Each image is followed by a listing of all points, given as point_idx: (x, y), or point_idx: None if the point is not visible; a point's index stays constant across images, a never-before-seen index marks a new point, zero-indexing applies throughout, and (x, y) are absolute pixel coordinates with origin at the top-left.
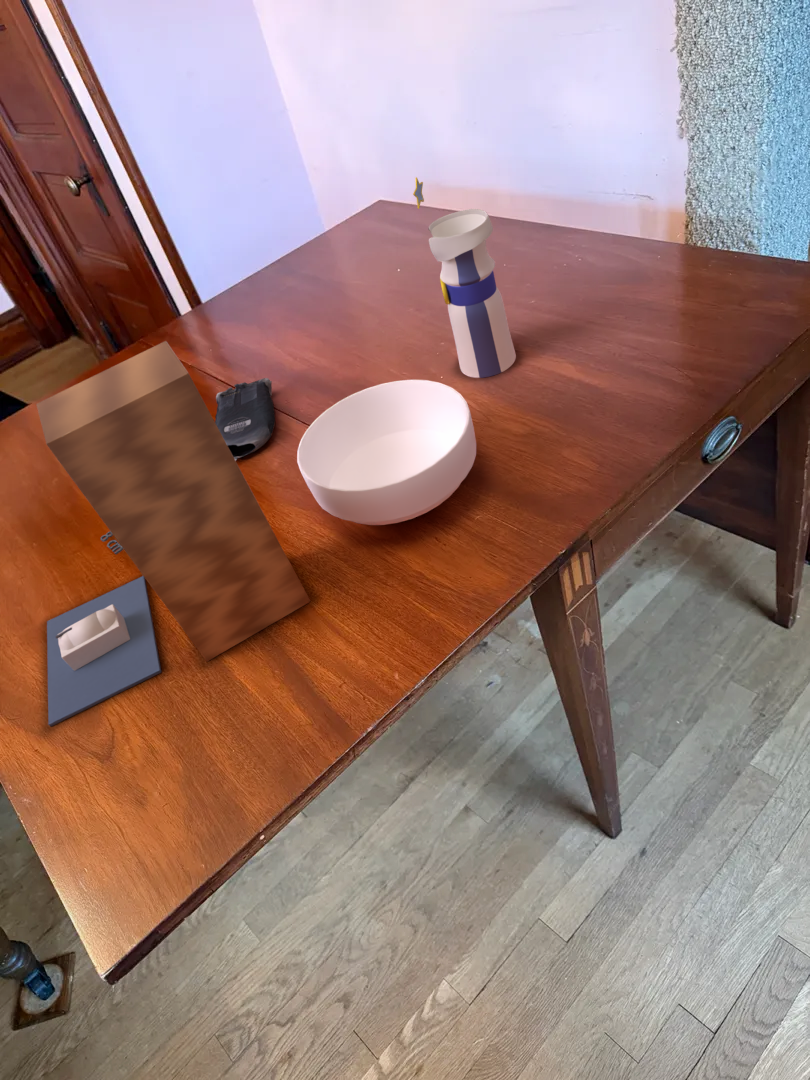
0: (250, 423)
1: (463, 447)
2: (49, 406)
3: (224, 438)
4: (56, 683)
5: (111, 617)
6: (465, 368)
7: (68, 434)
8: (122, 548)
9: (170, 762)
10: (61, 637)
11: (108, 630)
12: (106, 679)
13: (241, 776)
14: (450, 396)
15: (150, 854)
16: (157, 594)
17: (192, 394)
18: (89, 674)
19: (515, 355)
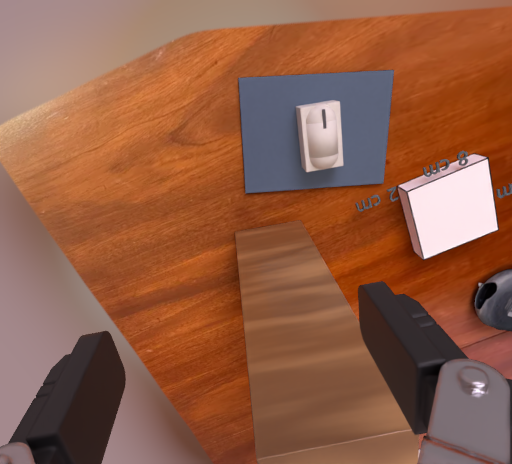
0: (508, 315)
1: None
2: (383, 449)
3: (508, 291)
4: (289, 85)
5: (319, 167)
6: (418, 456)
7: None
8: (426, 176)
9: (144, 193)
10: (320, 114)
11: (306, 161)
12: (264, 141)
13: (108, 245)
14: None
15: (64, 173)
16: (239, 275)
17: None
18: (281, 123)
19: None
